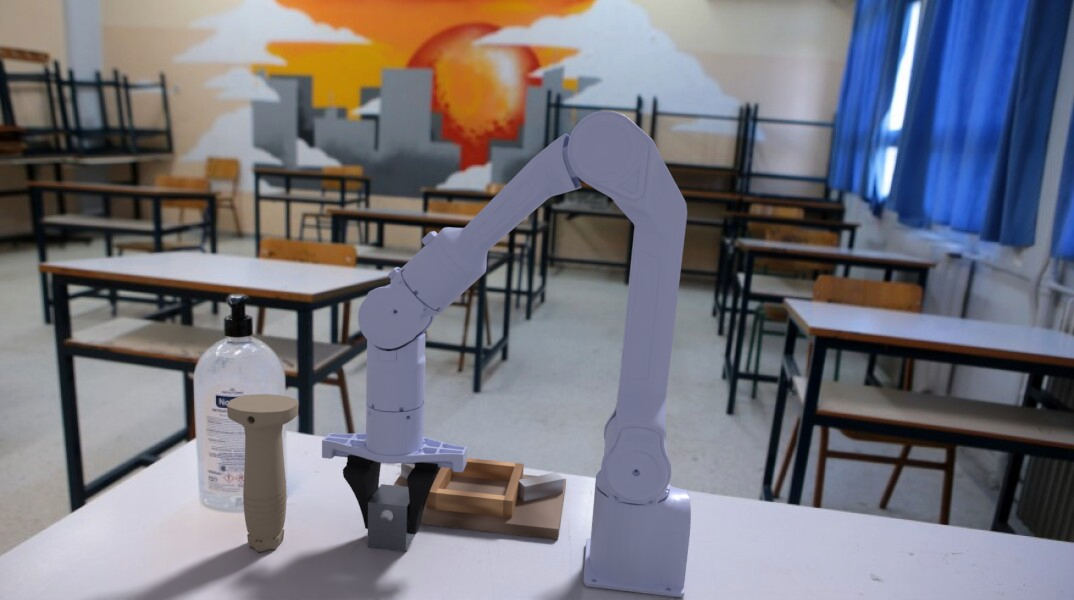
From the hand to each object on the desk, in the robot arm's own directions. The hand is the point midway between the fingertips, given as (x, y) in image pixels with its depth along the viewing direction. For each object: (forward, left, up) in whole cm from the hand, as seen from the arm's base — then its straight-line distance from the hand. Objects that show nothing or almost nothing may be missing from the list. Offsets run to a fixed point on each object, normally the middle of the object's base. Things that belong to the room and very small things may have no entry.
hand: (393, 526), depth 70 cm
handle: (+12, +4, -2) cm, 13 cm away
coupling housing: (-7, -9, -1) cm, 12 cm away
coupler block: (0, 0, -1) cm, 1 cm away
